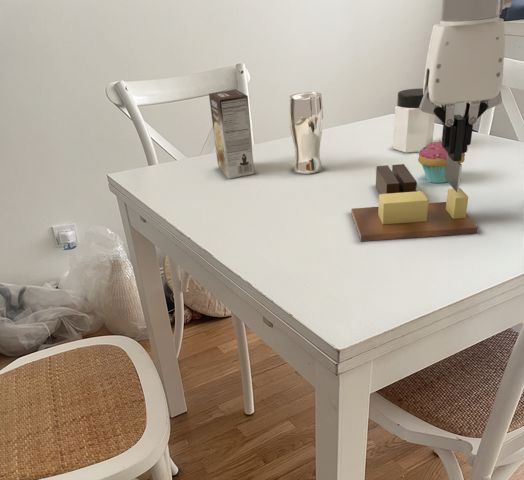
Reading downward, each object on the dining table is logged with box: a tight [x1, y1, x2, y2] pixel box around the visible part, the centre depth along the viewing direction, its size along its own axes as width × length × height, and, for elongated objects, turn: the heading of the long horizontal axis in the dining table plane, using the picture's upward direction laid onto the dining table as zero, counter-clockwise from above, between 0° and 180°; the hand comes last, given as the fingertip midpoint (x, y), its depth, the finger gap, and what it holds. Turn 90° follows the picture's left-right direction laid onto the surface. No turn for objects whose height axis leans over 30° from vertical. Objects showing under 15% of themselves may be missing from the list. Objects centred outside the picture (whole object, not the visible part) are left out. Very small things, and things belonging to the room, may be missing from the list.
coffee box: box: [208, 89, 255, 180], centre depth 117 cm, size 9×6×16 cm
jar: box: [392, 88, 437, 154], centre depth 122 cm, size 9×8×12 cm
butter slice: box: [445, 187, 469, 219], centre depth 87 cm, size 2×4×4 cm, turn 0°
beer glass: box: [288, 91, 324, 175], centre depth 114 cm, size 7×7×15 cm
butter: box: [377, 190, 429, 224], centre depth 88 cm, size 7×4×4 cm, turn 90°
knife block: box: [375, 163, 418, 195], centre depth 99 cm, size 5×11×4 cm, turn 179°
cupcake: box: [417, 140, 466, 184], centre depth 102 cm, size 9×8×12 cm
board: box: [350, 201, 479, 242], centre depth 89 cm, size 18×12×1 cm, turn 89°
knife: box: [445, 114, 466, 193], centre depth 83 cm, size 1×7×10 cm, turn 0°
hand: (455, 150), depth 82 cm, fingers closed on knife, 1 cm apart
